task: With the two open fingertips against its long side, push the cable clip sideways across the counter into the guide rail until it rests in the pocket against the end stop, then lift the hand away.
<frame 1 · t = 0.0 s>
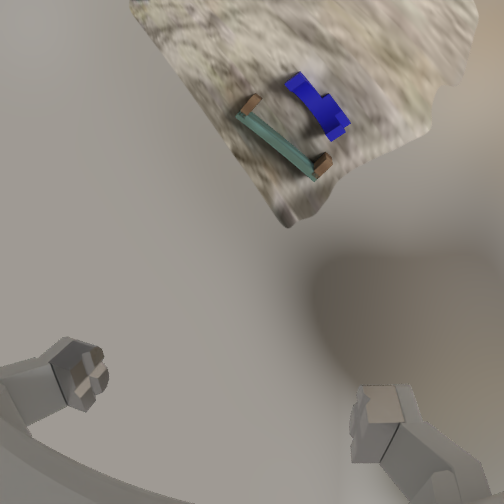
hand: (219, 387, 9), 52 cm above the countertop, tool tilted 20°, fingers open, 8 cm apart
rail: (293, 126, 53), on the countertop
cable clip: (318, 99, 50), on the countertop
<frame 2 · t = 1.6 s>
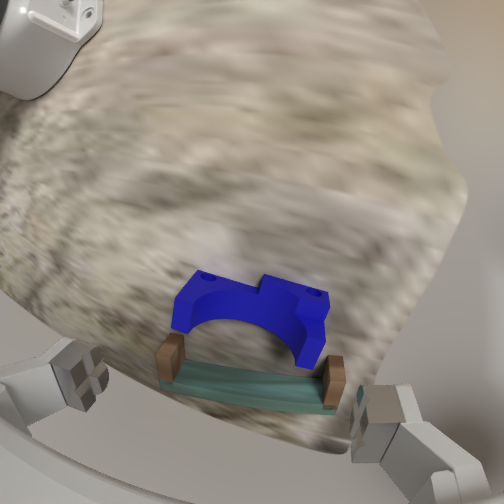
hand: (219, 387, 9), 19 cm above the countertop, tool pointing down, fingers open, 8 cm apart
rail: (254, 350, 31), on the countertop
cable clip: (258, 293, 29), on the countertop
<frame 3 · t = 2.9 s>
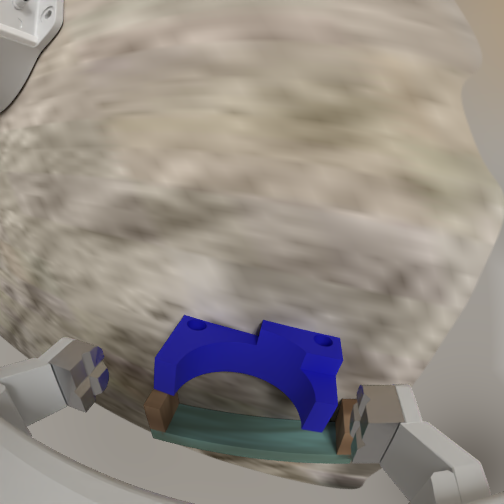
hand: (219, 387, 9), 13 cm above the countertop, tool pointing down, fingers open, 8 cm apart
rail: (256, 396, 26), on the countertop
cable clip: (257, 340, 24), on the countertop
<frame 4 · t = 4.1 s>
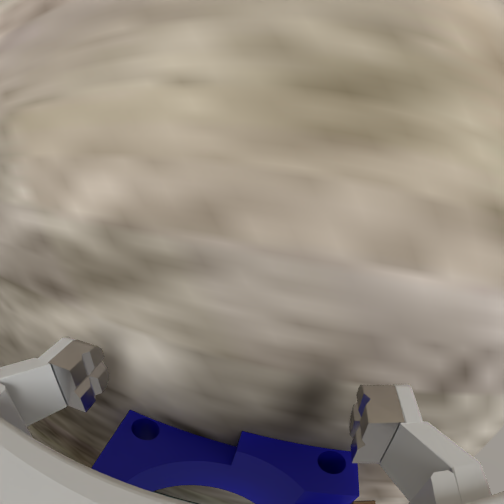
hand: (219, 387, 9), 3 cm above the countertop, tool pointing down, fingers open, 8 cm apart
cable clip: (235, 448, 15), on the countertop
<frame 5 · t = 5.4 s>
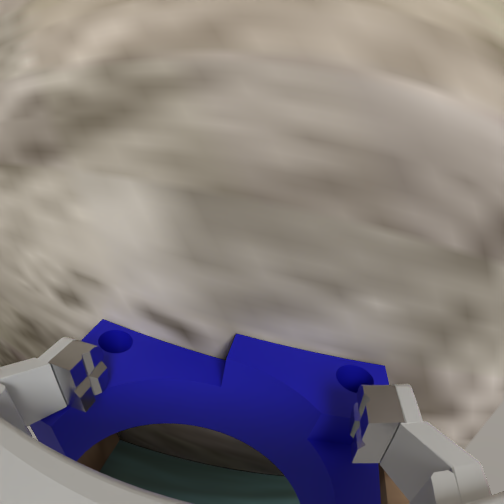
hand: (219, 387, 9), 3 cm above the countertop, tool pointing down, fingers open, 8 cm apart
rail: (235, 444, 14), on the countertop
cable clip: (229, 371, 13), on the countertop, touching gripper
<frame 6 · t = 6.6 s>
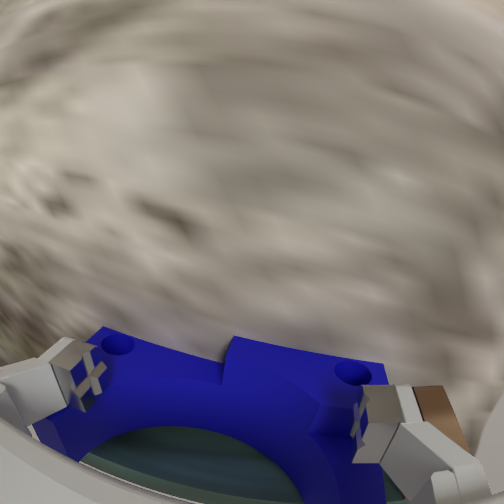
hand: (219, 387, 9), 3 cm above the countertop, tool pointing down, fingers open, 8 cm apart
rail: (238, 386, 13), on the countertop
cable clip: (229, 372, 13), on the countertop
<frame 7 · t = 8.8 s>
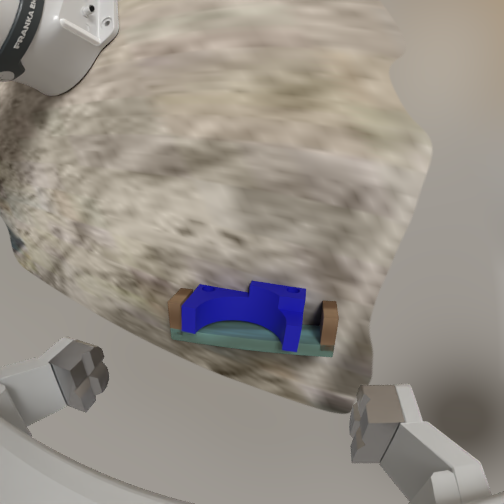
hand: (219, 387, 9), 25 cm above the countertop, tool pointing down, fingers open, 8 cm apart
rail: (255, 299, 36), on the countertop
cable clip: (250, 297, 36), on the countertop
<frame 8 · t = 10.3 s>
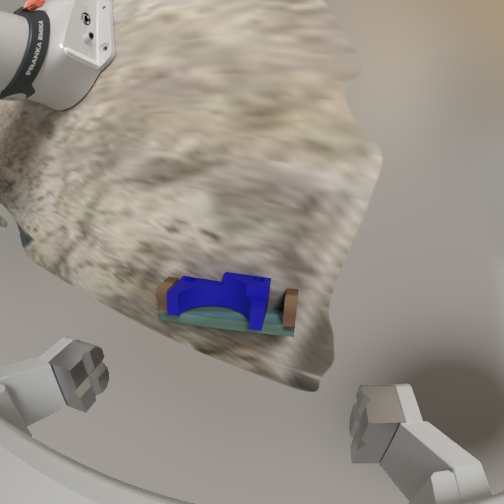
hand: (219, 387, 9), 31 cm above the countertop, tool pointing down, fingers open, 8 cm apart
rail: (230, 286, 42), on the countertop
cable clip: (225, 286, 43), on the countertop
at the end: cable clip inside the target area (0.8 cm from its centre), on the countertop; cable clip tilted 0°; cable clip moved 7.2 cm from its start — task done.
